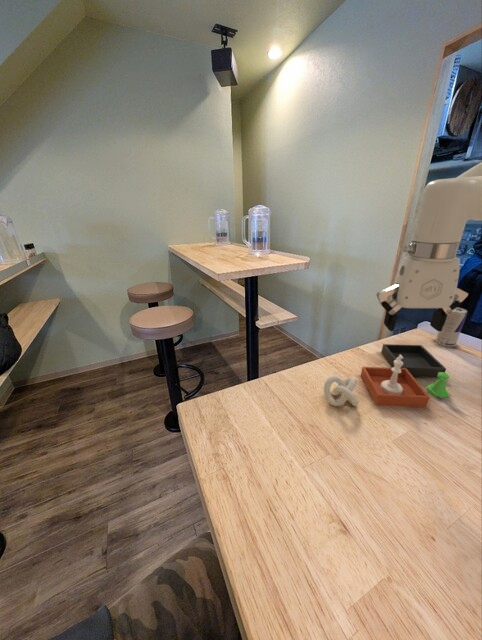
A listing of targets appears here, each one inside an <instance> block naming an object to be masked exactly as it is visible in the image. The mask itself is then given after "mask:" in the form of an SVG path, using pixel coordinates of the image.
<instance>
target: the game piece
mask: <svg viewBox="0 0 482 640" xmlns="http://www.w3.org/2000/svg"><path fill="white" fill-rule="evenodd" d="M437 377H438V378H437V380H435V381H434V382H433V383H432V384H428V385H427V392H428V393H429V394H431V395H432V396H434V397H436V398H441V399H445V398H448V397H449V395H450V393H449V390H448V388H447V386H446V381H449V378H450V375H449V374H448V373H447V372H446V371H445V372H438V375H437Z"/></svg>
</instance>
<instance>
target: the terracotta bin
mask: <svg viewBox="0 0 482 640" xmlns="http://www.w3.org/2000/svg"><path fill="white" fill-rule="evenodd" d="M391 369H392V367H385V366H384V367H381V366H380V367H379V366H362V367H361V371H360V377H361V379H362V381H363V383H364V385H365V387H366V389H367V391H368V393H369V395H370V397H371V399H372V401H373V403H374V404H375V406H390V407H408V408H427V407H428V405H429V401H430V399H431V397H430V396H429V395H428V393H427V392H426V391H425V390H424V388H423V387H422V386H421V384H420V383H419V382H418V381H417V379H416V377H413V376H412V375H411V373H410V372H409V371H408V370H407V368H400V370H401V373H398V377H397V383H398V384H400V385H401V386H402V388H403V392H402V394H400V395H399V394H389V393H387V392H385V391H384V390H382V388H381V386H380V385H381V383H382V382H383V381H385V380H390V379H391V376H392V374H393V371H392V370H391Z"/></svg>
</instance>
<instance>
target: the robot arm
mask: <svg viewBox="0 0 482 640" xmlns="http://www.w3.org/2000/svg"><path fill="white" fill-rule="evenodd" d="M420 199H421V201H420V204H419V208H418V213H417V217H416V222H415V226H414V231H413V236H412V239H411V241H410V244H406V245H405V244H404V246H403V248H402V251H403V253H407V256H404V258H403V260H402V262H401V265H400V267H399V270H398V272H397V275H396V278H395V281H394V284H393V285H391V286H389V287H387V288H384V289H381V290H380V291H377V292H376V297H377V300H378V302H379V305H380V306H381V307H382V308H383V309H384V310H385V314H384V320H383V325H384V326H385V327H386V328H387V329H388V331H389V332H393V331H395V327H396V323H397V319H398V314H397V312H398V311H400V310H401V309H402V308H405V309H434V311H433V313H432V317H431V321H430V323H429V325H430V327H432V329H434V330H436V332H438V331H442V328H443V326H444V324H445V321H446V318H447V315H448V314H451V313H452V310H454V309H455V308H457V307H460V306H461V303H463V301H465V299H466V298H468V296H469V293H468V292H467V291H464V290H462V289H461V288H458V282H459V278H460V271H461V270H460V269H461V258H460V257H457V254H458V251H459V248H460V245H461V242H462V241H461V240H462V237H463V234H464V230H465V227H466V225H467V222H469V221H475V222H476V221H478V222H482V161H481V162H479V163H478V164H476V165H474V166H472V167H471V168H469V169H468V170H466V171H465V172H463V173H461V174H460V175H458V176H456V177H451V178H441V179H435V180H431V181H430V182H428V183H427V184H426V185H425V187H424V189H423V192H422V195H421V198H420ZM390 296H391V300H390V301H389V302H388V301H387V298H388V297H390Z"/></svg>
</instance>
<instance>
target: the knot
mask: <svg viewBox="0 0 482 640" xmlns="http://www.w3.org/2000/svg"><path fill="white" fill-rule="evenodd" d="M333 383H336V384H337V385H336V386H335V387H334V388H333V389H332V391H331V387H332V385H333ZM356 385H357V379H356V378H355V377H354V376H349V377H347V378H345V379H344V380H343V379H342V378H341V377H339V376H338V375H331V376H329V377H328V378H327V379H325V382H324V385H323V394H324V397H325V399H326V401H327V403H329V404H330V405H331V406H335V407H339V406H341V405H344V404H345V403H346V402H347V401H348V402H349V403H350V404H351V405H352V406H354V407H357V406H358V405H359V403H360V402H359V399H358V398H357V396H356V395H355V393H353V391H354V389H355V387H356ZM331 393H332V394H331ZM340 393H341V395H340V397H339V398H337V399H335V398H334V397H333V396H338V395H339V394H340ZM332 395H333V396H332Z"/></svg>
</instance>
